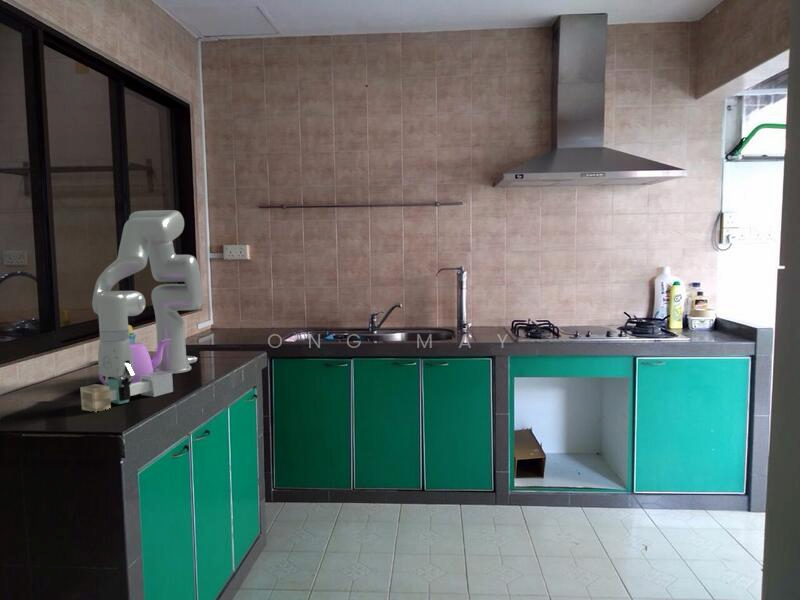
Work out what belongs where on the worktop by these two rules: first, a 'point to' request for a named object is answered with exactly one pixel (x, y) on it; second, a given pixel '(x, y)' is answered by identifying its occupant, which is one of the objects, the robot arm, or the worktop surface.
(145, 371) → the teapot
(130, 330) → the potted flower
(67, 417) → the worktop surface
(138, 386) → the plug
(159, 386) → the sleeve
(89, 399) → the socket
